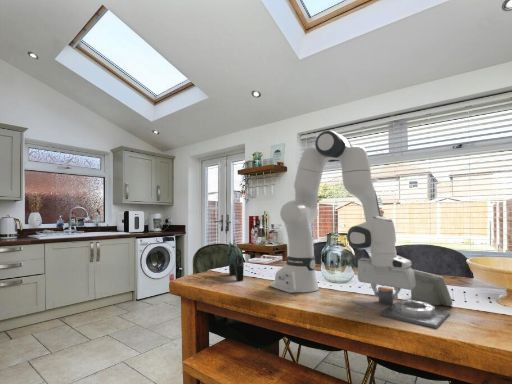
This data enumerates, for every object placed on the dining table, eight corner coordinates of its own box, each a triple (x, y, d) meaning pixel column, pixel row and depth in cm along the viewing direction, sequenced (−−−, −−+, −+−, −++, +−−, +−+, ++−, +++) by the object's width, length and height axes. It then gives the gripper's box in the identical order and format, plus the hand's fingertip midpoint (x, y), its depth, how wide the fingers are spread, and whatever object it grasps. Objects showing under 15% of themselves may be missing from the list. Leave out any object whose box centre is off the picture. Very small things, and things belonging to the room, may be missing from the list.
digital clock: (455, 307, 102) (453, 276, 102) (430, 308, 101) (428, 277, 102) (426, 294, 118) (425, 267, 119) (404, 295, 118) (403, 268, 118)
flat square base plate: (380, 315, 96) (379, 306, 96) (398, 303, 107) (397, 295, 107) (436, 328, 84) (435, 317, 85) (449, 313, 96) (449, 304, 96)
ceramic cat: (226, 274, 165) (226, 238, 166) (238, 273, 167) (237, 237, 168) (234, 282, 146) (234, 241, 147) (247, 280, 148) (246, 240, 149)
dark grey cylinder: (376, 302, 109) (375, 288, 109) (382, 299, 113) (381, 286, 113) (390, 305, 106) (389, 291, 106) (395, 302, 109) (394, 288, 109)
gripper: (353, 258, 115) (355, 294, 114) (410, 264, 101) (412, 305, 100) (361, 256, 120) (362, 291, 119) (416, 261, 105) (418, 301, 104)
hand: (385, 297), depth 109 cm, fingers closed on dark grey cylinder, 5 cm apart
